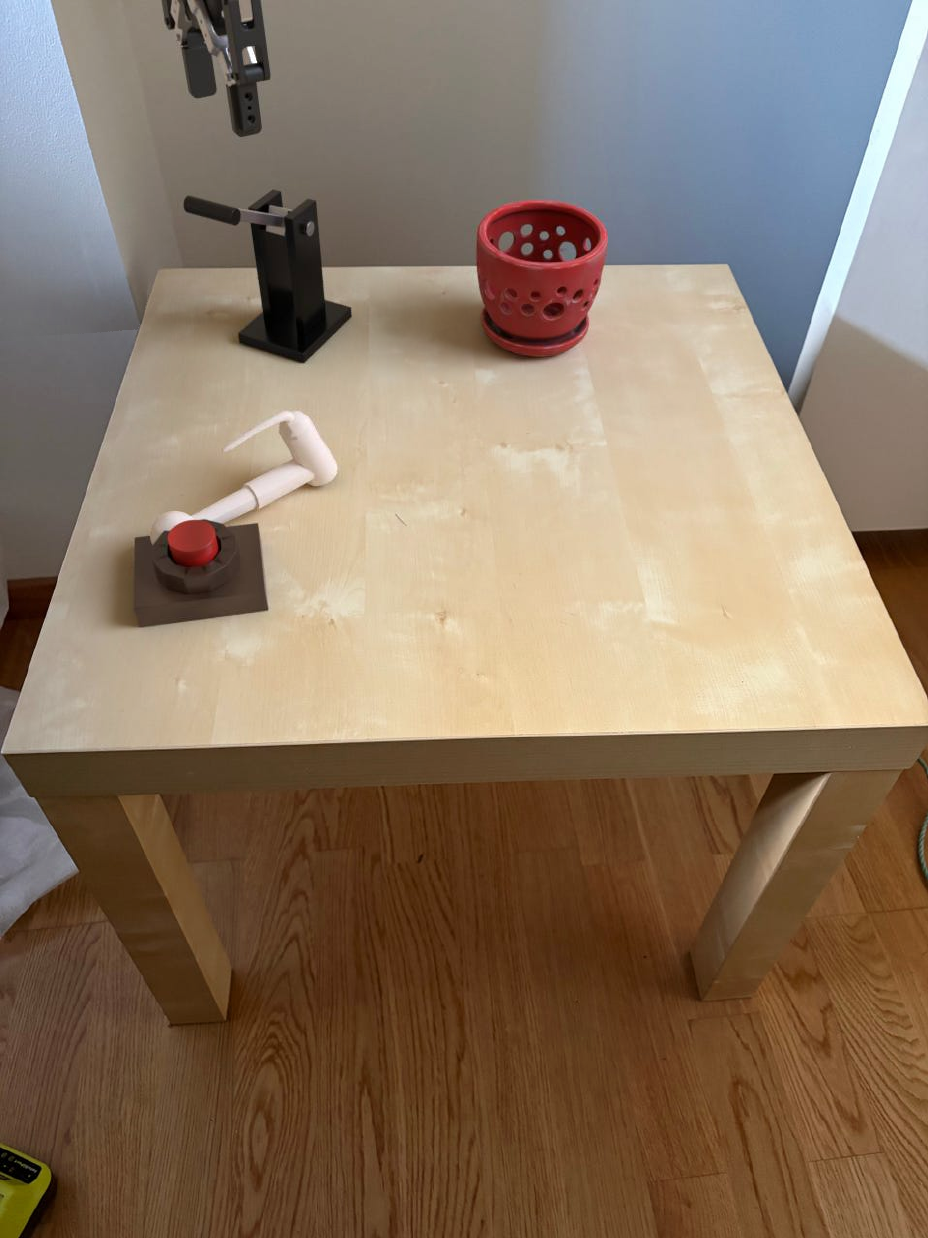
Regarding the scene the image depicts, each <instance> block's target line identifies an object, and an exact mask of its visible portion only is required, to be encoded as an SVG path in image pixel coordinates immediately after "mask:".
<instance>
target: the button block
mask: <svg viewBox="0 0 928 1238" xmlns="http://www.w3.org/2000/svg"><path fill="white" fill-rule="evenodd" d="M201 521H205V522H207V523H209V524H210V525H211V526H212V527H213V528H214V531H215V535H216V539H217V544H218V553H217V555H216V557H215V558H214V559H213V560H212V561H210V562H209V563H207V564H205V565H203V566H195V567H185V566H181V565H179V564H178V563H176V562H175V561H174V559H173V557H172V554H171V550H170V547H169V543H168V534H169V532H170V531H166V530H165V531H164V532H162V534H161V535H160V536H159V537H158V539H157V540H156V541H155V543H154V544H153V545H152V543H151V540H150V535H143V536H135V537H134V553H133V554H134V558H133V563H134V564H133V606H132V607H133V612H134V614H135V618H136V620H137V622H138V627H139V628H145V627H152V626H159V625H167V624H174V623H182V622H189V621H197V620H198V621H199V620H204V619H212V618H213V619H214V618H220V617H228V616H235V615H242V614H243V615H244V614H251V613H257V612H258V613H259V612H265V611H269V600H268V592H267V591H268V590H267V581H266V573H265V571H266V570H265V562H264V551H263V543H262V537H261V531H260V525H259V523H258V522H254V523H245V524H237V525H229V526H226V525H225V523H223V524H222V523H218V522H214V521H210V520H206V519H201Z"/></svg>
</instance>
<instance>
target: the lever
mask: <svg viewBox="0 0 928 1238" xmlns="http://www.w3.org/2000/svg"><path fill="white" fill-rule="evenodd" d="M182 207H183V210H184V211H185V212H186V213H187V214H190V215H195V216H198V217H201V218H206V219H208V220H213V221H216V222H220V223H223V224H227V225H231V226H233V227H234V226H238V225H239V224H240V222H242V223H248V224H250V223H255V224H262V225H266V231H268V232H271V233H275V234H278V235H282V236H286V231H285V222H284V217H285V216H286V215H287V214H288V213H290V212H291V211H292V210H293V209H291V208H286V207H284V206H283V207H277V206H272V205H269V211H268V213H264V212H258V211H252V210H248V209H247V208H239V207H235V206H230V205H227V204H223V203H221V202H220V203H219V202H216V201H213V200H209V199H205V198H202V197H198V196H193V195H190V194H189V195H187V196H185V197H184V200H183V205H182Z"/></svg>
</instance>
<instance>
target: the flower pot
mask: <svg viewBox="0 0 928 1238" xmlns="http://www.w3.org/2000/svg"><path fill="white" fill-rule="evenodd" d="M526 225H530V226H531V228H532V230H531V232H530V233H529V234H527V235H524V234H523V233H522V228H524V226H526ZM559 227H560V228H563V230H564V233H563V234H559V232H558V229H557V228H559ZM507 232H509V233H511V234H512V236H513V241H512V243H511V245H510V246H509V248H507V249H506V250H501V249H500V246H499V242H500V239H501V237H502V235H503V234H505V233H507ZM542 233H547V235H548V237H547V238H546V239H545V238H541V234H542ZM587 239H588V241H589V243H590V248H588V246H587ZM608 242H609V235H608V231H607V229H606V227H605V225H604V223H603V222H602V221H601V220H600V219H599V218H598V217H597V216H595V215H594V214H592V213H591V212H590V211H588V210H586V209H585V208H582V207H580V206H577V205H574V204H571V203H567V202H564V201H563V202H562V201H557V200H551V199H550V200H549V199H548V200H547V199H526V200H525V199H524V200H519V201H513V202H509V203H506V204H503V205H500V206H497V207H496V208H494V209H492V210H491V211H490V212H488V213H487V214H486V215H485V216H484V217H483V218H482V219H481V221H480V222H479V225H478V226H477V230H476V245H475V247H476V249H475V251H476V252H475V260H476V261H475V263H476V275H477V282H478V290H479V294H480V297H481V300H482V303H483V305H484V306H483V307H482V310H481V312H480V313H481V315H480V321H481V325H482V328H483V331H484V332H485V334H486V335H487V336H488V337H489V338H490V339H491V341H492V342H494V343H495V344H496V345H498V346H499V347H501V348H503V349H504V350H506V351H509V352H512V353H514V354H518V355H523V356H528V357H549V356H555V355H559V354H562V353H565V352H567V351H569V350H571V349H572V348H574V347H575V346H577V345H578V344H579V343H581V342H582V340H584V338H585V337H586V335H587V333H588V331H589V327H590V317H589V314H588V313H589V312H590V310H591V308H592V306H593V304H594V302H595V300H596V298H597V295H598V292H599V289H600V286H601V284H602V275H603V271H604V267H605V263H606V259H607V252H608V244H609V243H608ZM564 243H570V244H572V245H573V248H574V249H575V256H574V259H570V260H566V259H565V258H564V257H563V256H562V253H561V246H562V244H564ZM525 244H531V245H532V251H531V252H530V253H528V254H524V253H523V251H522V248H523V246H524V245H525ZM546 251H549V252H551V254H552V255H551V257H549V258H548V257H546V256H545V255H544V254H545V252H546Z"/></svg>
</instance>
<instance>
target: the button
mask: <svg viewBox="0 0 928 1238" xmlns="http://www.w3.org/2000/svg"><path fill="white" fill-rule="evenodd" d="M168 543H169V547H170V550H171V554H172V557H173V559H174V561H175V562H176V563H178V564H179V565H181V566H185V567H195V566H203V565H205V564H207V563H209V562H210V561H212V560H213V559H214V558H215V557H216V555H217V553H218V544H217V539H216V535H215V531H214V528H213V527H212V526H211V525H210V524H209V523H207V522H205V521H201V520H188V521H184V522H181V523H179V524H177V525H176V526H174V527H173V528H172V529H171V530H170V532H169V534H168Z"/></svg>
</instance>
